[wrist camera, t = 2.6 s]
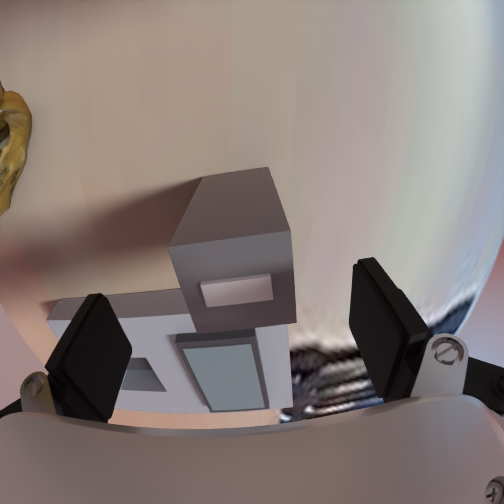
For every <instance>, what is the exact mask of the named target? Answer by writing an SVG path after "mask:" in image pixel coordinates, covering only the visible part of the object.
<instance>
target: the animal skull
mask: <svg viewBox="0 0 504 504" xmlns="http://www.w3.org/2000/svg"><path fill="white" fill-rule="evenodd" d="M0 110H2V112H1V113H0V141H1V140H2V139H3V138H4V137H5V136H7V135H8V134H9V133H10V137H9V139H8V141H7V143H6V145H5V146H4V147H3V148H2V149H1V150H0V182H1V186H0V216H1V214H2V213H3V212H4V211H6V210H7V209H9V208H10V201H11V196H12V192H13V188H14V186H15V184H16V182H17V180H18V178H19V176H20V174H21V172H22V169H23V167H24V164H25V161H26V157H27V147H28V142H29V138H30V135H31V128H32V115H31V112H30V110H29V108H28V106H27V104H26V102H24V100H23V98H22V97H21V96H20V95H19V94H18V93H16V92H13V91H4V88H3V87H2V85H1V82H0Z"/></svg>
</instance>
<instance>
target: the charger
mask: <svg viewBox="0 0 504 504" xmlns="http://www.w3.org/2000/svg"><path fill="white" fill-rule="evenodd" d="M168 250H169V253H170V256H171V260H172V263H173V266H174V269H175V272H176V275H177V278H178V281H179V284H180V287H181V290H182V293H183V296H184V299H185V302H186V305H187V307H188V310H189V313H190V316H191V319H192V321H193V324H194V327H195V329H196V332H197V333H210V332H222V331H232V330H242V329H251V328H260V327H268V326H276V325H284V324H291V323H297V320H296V301H295V285H294V270H293V256H292V243H291V230H290V228H289V225H288V222H287V219H286V216H285V213H284V210H283V207H282V204H281V201H280V198H279V196H278V193H277V190H276V187H275V184H274V181H273V179H272V176H271V173H270V170H269V168H268V167H265V168H257V169H250V170H242V171H236V172H229V173H222V174H216V175H210V176H204V177H203V178H202V180H201V182H200V184H199V186H198V187H197V189H196V191H195V193H194V195H193V197H192V199H191V201H190V203H189V205H188V207H187V209H186V211H185V213H184V215H183V217H182V219H181V221H180V223H179V225H178V227H177V229H176V231H175V233H174V235H173V237H172V239H171V241H170V244H169V246H168Z"/></svg>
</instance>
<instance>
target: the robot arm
mask: <svg viewBox="0 0 504 504" xmlns="http://www.w3.org/2000/svg"><path fill="white" fill-rule="evenodd" d="M349 327H350V330H351V332H352V335H353V337H354V339H355V342H356V344H357V347H358V349H359V351H360V354H361V356H362V359H363V361H364V364H365V366H366V369H367V371H368V374H369V376H370V379H371V381H372V384H373V386H374V389H375V392H376V394H377V396H378V398H383V400H384V404H380V405H376V406H372V407H368V408H364V409H360V410H356V411H351V412H347V413H342V414H337V415H332V416H327V417H321V418H316V419H310V420H304V421H298V422H291V423H283V424H275V425H266V426H256V427H243V428H226V429H165V428H148V427H135V426H125V425H116V424H109V423H108V419H110V418H111V417H112V414H113V411H114V407H115V404H116V401H117V397H118V394H119V391H120V388H121V385H122V382H123V378H124V375H125V372H126V369H127V366H128V364H129V361H130V358H131V355H132V345H131V343H130V341H129V340H128V338H127V336H126V334H125V332H124V330H123V328H122V326H121V324H120V322H119V320H118V319H117V317H116V315H115V312H114V310H113V308H112V306H111V304H110V302H109V300H108V298H107V297H105V296H104V295H103V294H101V293H97V294H89V295H88V296H87V297H86V298H85V300H84V301H83V303H82V304H81V306H80V307H79V309H78V311H77V312H76V314H75V315H74V317H73V319H72V320H71V322H70V323H69V325H68V327H67V328H66V330H65V332H64V333H63V335H62V337H61V338H60V340H59V342H58V343H57V345H56V347H55V349H54V350H53V352H52V354H51V356H50V358H49V359H48V361H47V363H46V365H45V368H46V370H47V371H48V372H49V374H48V375H45V373H43V372H34V373H32V374H30V375H29V376H28V377H27V378H26V379H25V380H24V381H23V383H22V385H21V388H20V396H21V398H20V399H18V400H16V401H15V402H13V403H12V404H10V405H9V406H7V407H5V408H4V409H2V410H1V411H0V504H504V368H502V367H499V366H496V365H493V364H490V363H487V362H484V361H480V360H478V359H475V358H471V357H469V355H468V349H467V346H466V344H465V343H464V342H463V341H462V340H461V339H460V338H458V337H457V336H454V335H452V334H446V333H444V334H438V335H436V336H433V334H432V333H431V331H430V330H429V328H428V327H427V325H426V324H425V322H424V321H423V319H422V318H421V316H420V315H419V313H418V312H417V311H416V309H415V308H414V306H413V305H412V304H411V302H410V301H409V299H408V298H407V297H406V295H405V294H404V293H403V291H402V290H401V289H398V288H397V287H396V285H395V284H394V283H393V281H392V280H391V279H390V277H389V276H388V275H387V273H386V272H385V271H384V269H383V268H382V267H381V265H380V264H379V263H378V262H377V260H376V259H375V258H374V257H371V258H364V259H359V260H358V262H357V264H354V265H353V275H352V290H351V303H350V314H349Z"/></svg>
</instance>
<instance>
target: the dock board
mask: <svg viewBox="0 0 504 504" xmlns="http://www.w3.org/2000/svg"><path fill="white" fill-rule="evenodd" d="M105 297H107V298H108V300H109V302H110V304H111V306H112V308H113V310H114V312H115V315H116V317H117V319H118V320H119V322H120V324H121V326H122V328H123V330H124V332H125V334H126V336H127V338H128V340H129V341H130V343H131V345H132V355H131V358H130V361H129V364H128V366H127V369H126V372H125V375H124V378H123V382H122V385H121V388H120V391H119V394H118V397H117V401H116V404H115V407H114V409H122V410H132V411H144V412H159V413H231V412H248V411H260V410H270V409H279V408H287V407H293V401H292V384H291V369H290V354H289V341H288V328H287V324H284V325H276V326H268V327H260V328H251V329H242V330H232V331H222V332H210V333H197V332H196V329H195V327H194V324H193V321H192V319H191V316H190V313H189V310H188V307H187V305H186V302H185V299H184V296H183V293H182V290H181V288H180V289H170V290H161V291H150V292H140V293H129V294H118V295H107V296H105ZM85 298H86V297H82V298H69V299H60V300H59V301H58V303H57V304H56V306H55V307H54V309H53V310H52V312H51V313H50V314H49V316H48V317H47V319H46V321H47V323H48V325H49V326H50V328H51V329H52V331H53V332H54V334H55V335H56V337H57V338H58V340H60V338H61V337H62V335H63V333H64V332H65V330H66V328H67V327H68V325H69V323H70V322H71V320H72V319H73V317H74V315H75V314H76V312H77V311H78V309H79V307H80V306H81V304H82V303H83V301H84V300H85Z"/></svg>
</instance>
